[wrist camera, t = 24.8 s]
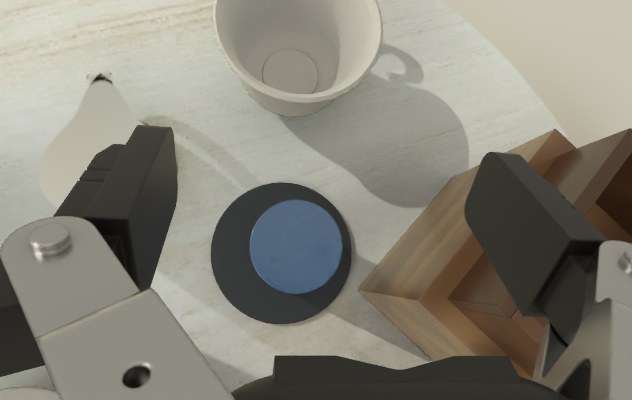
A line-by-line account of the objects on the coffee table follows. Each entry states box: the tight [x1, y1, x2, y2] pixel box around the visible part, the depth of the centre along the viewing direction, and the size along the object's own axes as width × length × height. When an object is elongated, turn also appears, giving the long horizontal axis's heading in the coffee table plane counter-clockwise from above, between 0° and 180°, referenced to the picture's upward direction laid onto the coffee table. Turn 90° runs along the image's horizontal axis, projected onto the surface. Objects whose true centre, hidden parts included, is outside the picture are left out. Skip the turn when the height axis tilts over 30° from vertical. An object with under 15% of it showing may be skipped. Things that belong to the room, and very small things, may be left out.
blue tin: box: [250, 200, 343, 294], centre depth 30 cm, size 6×6×11 cm
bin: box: [357, 128, 632, 380], centre depth 29 cm, size 14×14×19 cm
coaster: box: [211, 183, 351, 324], centre depth 36 cm, size 12×12×1 cm
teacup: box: [212, 0, 383, 117], centre depth 34 cm, size 12×15×10 cm
